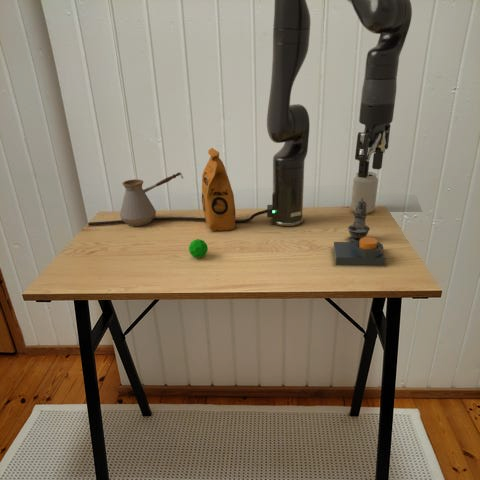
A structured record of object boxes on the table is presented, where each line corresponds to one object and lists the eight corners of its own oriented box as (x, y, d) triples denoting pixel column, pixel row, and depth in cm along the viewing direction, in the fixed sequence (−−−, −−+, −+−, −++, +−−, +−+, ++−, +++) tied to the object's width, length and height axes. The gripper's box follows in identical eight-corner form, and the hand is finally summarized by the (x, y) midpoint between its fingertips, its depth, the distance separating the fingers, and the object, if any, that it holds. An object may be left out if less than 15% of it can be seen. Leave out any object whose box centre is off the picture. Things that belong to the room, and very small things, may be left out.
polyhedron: (211, 258, 121) (209, 241, 119) (193, 262, 120) (192, 245, 117) (203, 251, 125) (202, 235, 123) (187, 255, 124) (185, 239, 121)
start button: (359, 250, 113) (360, 243, 112) (358, 243, 117) (358, 237, 116) (377, 250, 113) (378, 244, 112) (375, 243, 117) (376, 237, 116)
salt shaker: (370, 237, 129) (375, 196, 122) (365, 245, 124) (371, 202, 118) (349, 235, 131) (353, 194, 125) (344, 242, 127) (348, 200, 120)
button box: (335, 265, 115) (336, 251, 113) (333, 249, 123) (334, 235, 121) (384, 266, 113) (386, 251, 111) (378, 249, 122) (380, 235, 120)
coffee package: (205, 233, 137) (198, 157, 125) (203, 219, 147) (197, 148, 135) (237, 230, 137) (234, 155, 126) (233, 216, 148) (230, 146, 136)
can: (374, 215, 144) (379, 176, 138) (350, 214, 145) (354, 176, 139) (373, 207, 150) (378, 170, 144) (350, 206, 152) (354, 170, 145)
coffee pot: (118, 229, 142) (109, 181, 134) (123, 217, 152) (115, 171, 144) (187, 225, 143) (182, 177, 135) (187, 213, 153) (183, 167, 145)
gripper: (374, 96, 110) (367, 164, 119) (349, 104, 100) (343, 178, 109) (405, 97, 106) (395, 168, 115) (381, 105, 97) (372, 182, 105)
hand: (369, 173), depth 112 cm, fingers open, 8 cm apart
